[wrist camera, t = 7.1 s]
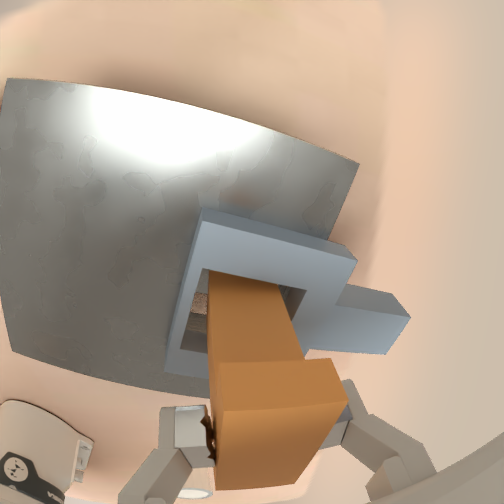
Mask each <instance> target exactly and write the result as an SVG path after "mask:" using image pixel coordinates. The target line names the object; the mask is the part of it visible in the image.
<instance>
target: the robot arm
mask: <svg viewBox="0 0 504 504" xmlns="http://www.w3.org/2000/svg"><path fill="white" fill-rule="evenodd" d="M341 383H342V385H343V387H344V390H345V392H346V394H347V397H348V399H349V401H348V403H347V405H346V406H345V408H344V410H343V411H342V413H341V415H340V416H339V418H338V420H337V421H336V423H335V425H334V426H333V428H332V429H331V431H330V433H329V434H328V436H327V437H326V439H325V440H324V442H323V443H322V445H321V446H320V448H319V449H318V450H320V449H324V448H328V447H333V446H337V445H341V446H342V447H343V448H344V449H345V450H347V451H348V452H349V453H350V454H352V455H353V456H354V457H355V458H357V459H358V460H359V461H360V462H362V463H363V464H364V465H366V466H367V467H368V468H369V469H371V470H372V471H373V472H375V474H374V475H373V477H372V478H371V479H370V480H369V482H368V483H367V485H366V486H365V487H366V489H367V492H368V495H369V498H370V501H371V502H369V503H366V504H504V432H503V433H501V434H500V435H499V436H497V437H496V438H494V439H493V440H491V441H490V442H488V443H487V444H486V445H484V446H482V447H481V448H479V449H478V450H476V451H475V452H473V453H472V454H470V455H468V456H466V457H465V458H463V459H462V460H460V461H458V462H456V463H455V464H453V465H451V466H449V467H447V468H446V469H444V470H442V471H440V472H438V473H437V472H436V470H435V468H434V466H433V464H432V462H431V460H430V458H429V456H428V454H427V452H426V450H425V448H424V446H423V444H422V443H420V442H419V441H417V440H415V439H413V438H412V437H410V436H408V435H407V434H405V433H403V432H401V431H400V430H398V429H396V428H395V427H393V426H391V425H390V424H388V423H386V422H385V421H383V420H382V419H380V418H378V417H377V416H375V415H373V414H370V415H368V413H367V411H366V408H365V406H364V404H363V402H362V400H361V398H360V395H359V393H358V391H357V389H356V387H355V385H354V383H353V381H352V380H351V379H347V380H343V381H341ZM213 441H214V436H213V427H212V422H211V419H210V416H208V411H207V408H206V405H196V406H182V407H162V408H161V410H160V419H159V439H158V449H154V450H153V451H152V452H151V453H150V455H149V456H148V457H147V459H146V460H145V461H144V463H143V464H142V465H141V466H140V468H139V469H138V470H137V471H136V473H135V474H134V475H133V477H132V478H131V479H130V480H129V482H128V483H127V484H126V485H125V487H124V488H123V489H122V490H121V492H120V493H119V494H118V504H173V503H174V501H175V500H176V498H177V496H178V495H179V493H180V491H181V490H182V488H183V486H184V484H185V483H186V481H187V479H188V478H189V476H190V474H191V472H192V471H193V469H194V468H206V467H216V458H215V449H214V447H213V445H212V442H213ZM93 444H94V442H93V441H92V440H90V439H89V438H87V437H85V436H83V435H81V434H79V433H78V432H76V431H75V430H74V429H72V428H71V427H70V426H69V425H68V424H66V423H65V422H63V421H62V420H60V419H59V418H57V417H56V416H54V415H52V414H50V413H48V412H46V411H44V410H42V409H40V408H38V407H36V406H33V405H30V404H28V403H24V402H20V401H15V400H9V401H5V402H4V403H3V404H2V405H0V504H64V499H65V496H64V493H65V492H66V491H67V490H68V489H69V488H70V487H71V486H72V483H73V482H74V480H75V481H77V482H80V483H82V481H83V473H84V472H83V471H80V470H85V469H86V466H87V463H88V460H89V457H90V454H91V450H92V447H93ZM76 469H79V470H76Z"/></svg>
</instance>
